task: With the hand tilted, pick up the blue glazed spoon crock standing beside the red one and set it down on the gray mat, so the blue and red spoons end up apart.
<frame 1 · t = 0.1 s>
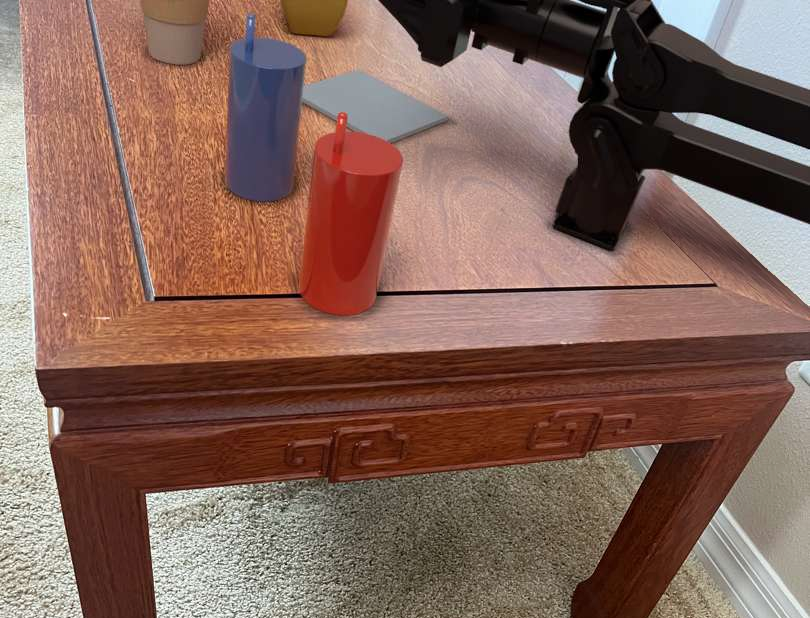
red crock: (337, 290, 67), on the table
flower pot: (307, 30, 109), on the table
gray mat: (369, 108, 94), on the table
coffee cup: (175, 55, 95), on the table
blue crock: (259, 183, 77), on the table
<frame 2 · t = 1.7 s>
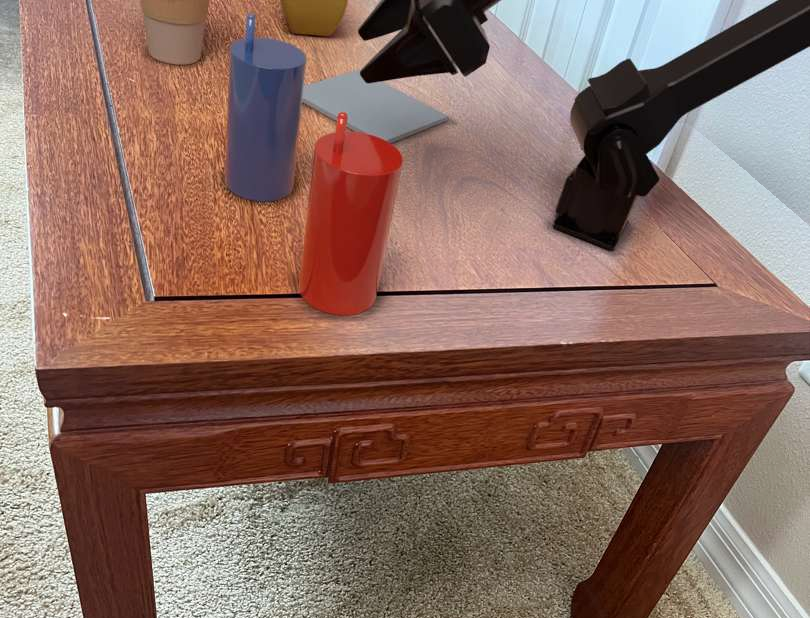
hand: (361, 56, 70), 13 cm above the table, tool tilted 45°, fingers open, 9 cm apart
nothing on the table moved.
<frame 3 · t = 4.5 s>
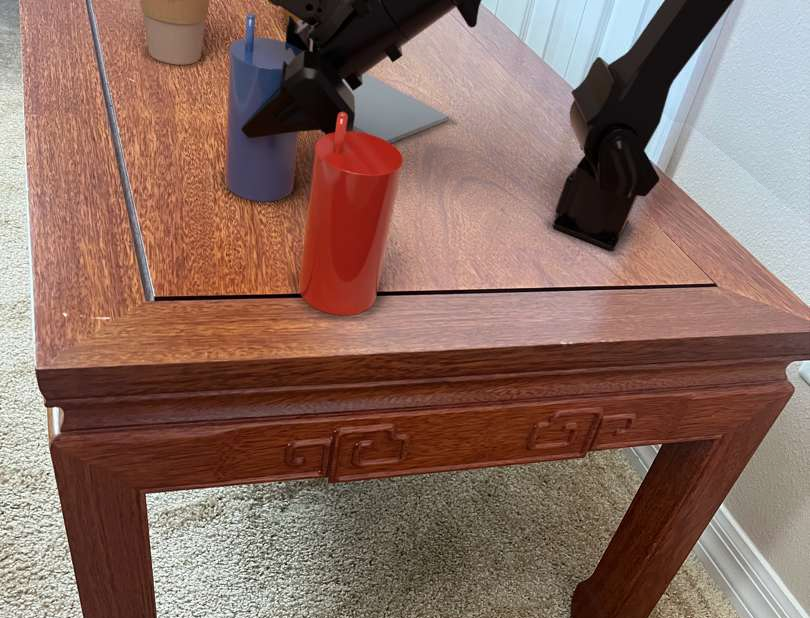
hand: (247, 115, 73), 7 cm above the table, tool tilted 45°, fingers closed on blue crock, 6 cm apart
blue crock: (259, 183, 77), on the table, touching gripper
everything else where it was.
when the fingers open (7 cm above the table, at t = 11.9 s): blue crock stays where it is, resting on gray mat.
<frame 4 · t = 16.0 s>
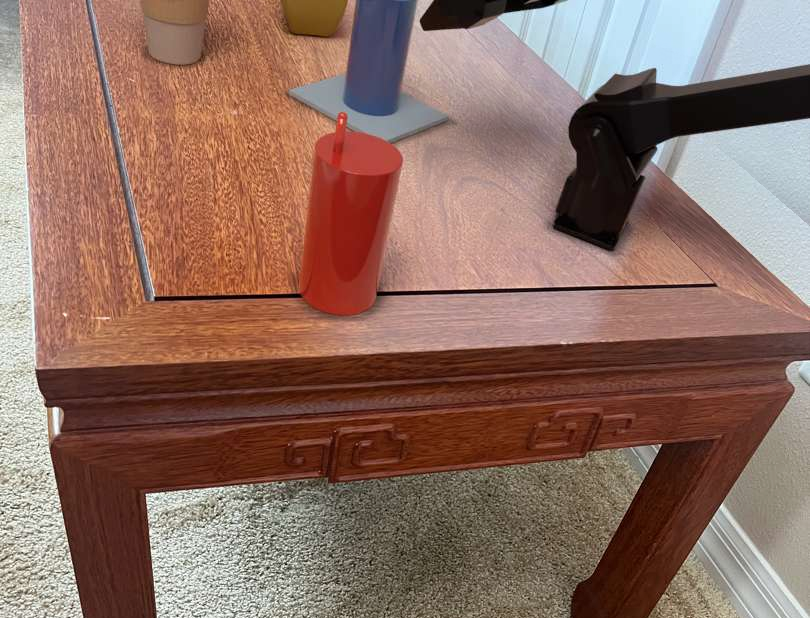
hand: (450, 18, 81), 14 cm above the table, tool tilted 45°, fingers open, 9 cm apart
blue crock: (370, 103, 94), point 1 cm above the table, touching gray mat
everything else where it was.
at the end: blue crock inside the target area on the gray mat (0.1 cm from its centre), point 0.6 cm above the gray mat's base; blue crock tilted 0°; red crock moved 0.0 cm from its start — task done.
